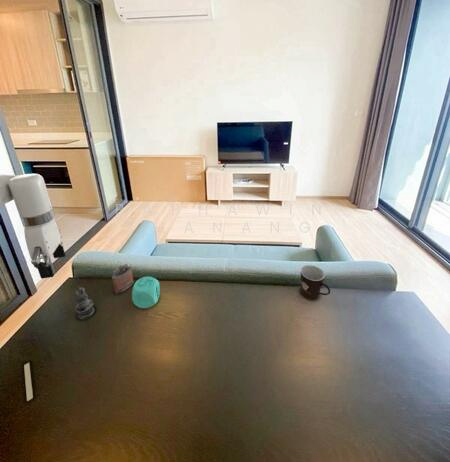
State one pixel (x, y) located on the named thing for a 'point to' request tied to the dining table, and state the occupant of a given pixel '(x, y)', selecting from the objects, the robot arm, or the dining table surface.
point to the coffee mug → (312, 282)
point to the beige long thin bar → (28, 382)
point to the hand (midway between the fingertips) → (54, 266)
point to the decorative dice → (146, 292)
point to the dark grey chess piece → (83, 304)
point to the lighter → (122, 278)
